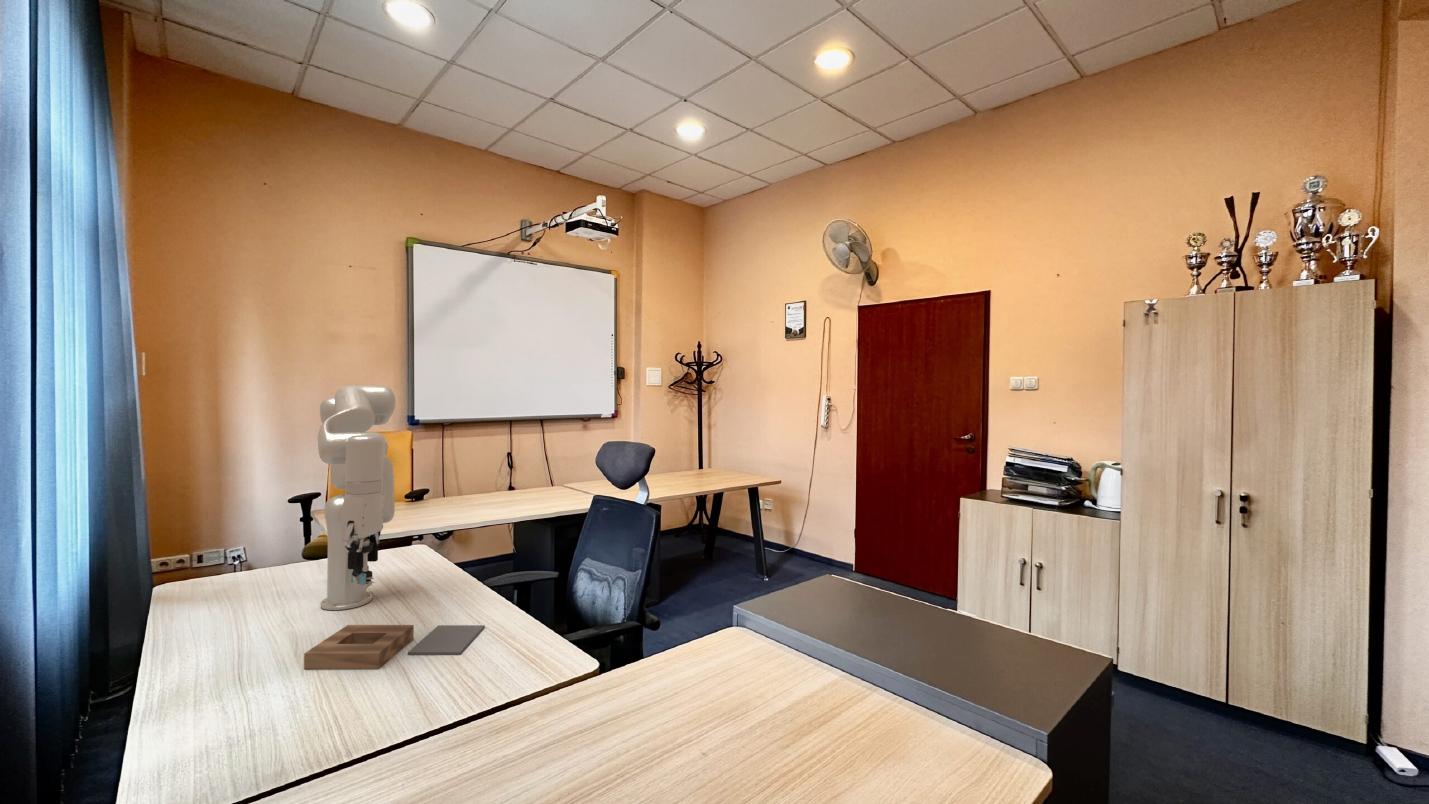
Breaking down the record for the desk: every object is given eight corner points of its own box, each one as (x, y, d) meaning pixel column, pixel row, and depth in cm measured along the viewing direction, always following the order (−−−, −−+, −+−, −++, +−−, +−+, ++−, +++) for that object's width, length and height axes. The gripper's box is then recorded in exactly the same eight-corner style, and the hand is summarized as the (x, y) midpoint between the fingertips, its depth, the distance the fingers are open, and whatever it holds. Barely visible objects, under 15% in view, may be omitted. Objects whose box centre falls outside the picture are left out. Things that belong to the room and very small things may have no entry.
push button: (383, 581, 135) (382, 539, 135) (361, 589, 130) (360, 545, 130) (364, 577, 138) (364, 536, 138) (342, 584, 133) (341, 542, 133)
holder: (347, 638, 142) (347, 624, 142) (413, 638, 142) (413, 624, 142) (303, 669, 126) (304, 653, 126) (378, 669, 126) (378, 653, 126)
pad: (438, 627, 149) (438, 625, 149) (484, 627, 150) (484, 625, 150) (407, 654, 133) (407, 652, 133) (459, 654, 134) (460, 652, 134)
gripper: (368, 482, 142) (367, 554, 143) (324, 494, 125) (323, 576, 125) (399, 482, 143) (398, 555, 143) (359, 494, 126) (358, 576, 126)
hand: (363, 564), depth 134 cm, fingers closed on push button, 5 cm apart
